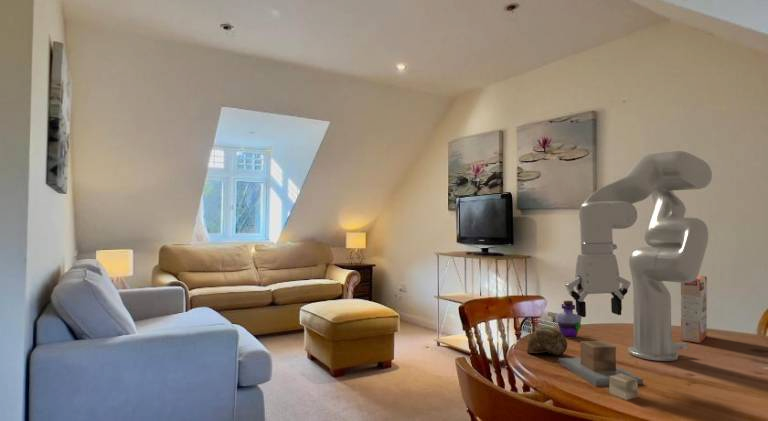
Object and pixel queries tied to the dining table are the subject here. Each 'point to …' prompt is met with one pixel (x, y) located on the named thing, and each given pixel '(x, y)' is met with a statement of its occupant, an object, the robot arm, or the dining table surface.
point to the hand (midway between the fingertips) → (599, 314)
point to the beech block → (623, 386)
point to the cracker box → (694, 310)
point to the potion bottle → (568, 320)
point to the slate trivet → (594, 372)
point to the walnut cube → (598, 355)
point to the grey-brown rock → (547, 341)
